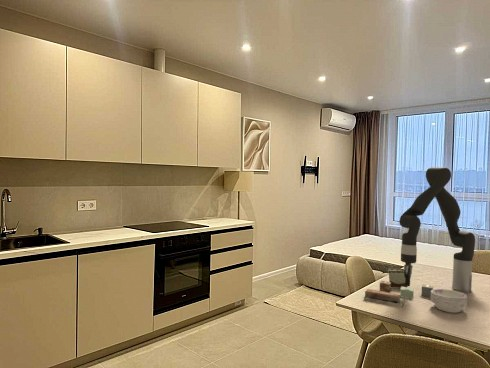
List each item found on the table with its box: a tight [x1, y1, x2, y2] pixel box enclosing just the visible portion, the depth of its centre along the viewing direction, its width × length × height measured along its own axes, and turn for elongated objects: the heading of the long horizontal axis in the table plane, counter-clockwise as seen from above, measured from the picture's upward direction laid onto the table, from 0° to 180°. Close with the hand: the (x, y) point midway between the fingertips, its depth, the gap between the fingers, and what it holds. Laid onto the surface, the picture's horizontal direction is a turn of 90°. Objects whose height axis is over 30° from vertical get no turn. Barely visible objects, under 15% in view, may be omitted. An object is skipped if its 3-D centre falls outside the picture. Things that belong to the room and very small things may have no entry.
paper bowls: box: [429, 288, 468, 314], centre depth 170 cm, size 15×15×8 cm
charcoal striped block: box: [421, 284, 434, 298], centre depth 190 cm, size 5×5×5 cm
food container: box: [387, 267, 409, 289], centre depth 205 cm, size 12×6×10 cm, turn 84°
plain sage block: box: [399, 286, 414, 299], centre depth 188 cm, size 6×6×4 cm
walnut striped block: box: [378, 280, 392, 293], centre depth 194 cm, size 5×5×5 cm
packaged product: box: [363, 288, 405, 308], centre depth 178 cm, size 18×5×10 cm
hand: (407, 285), depth 188 cm, fingers closed
